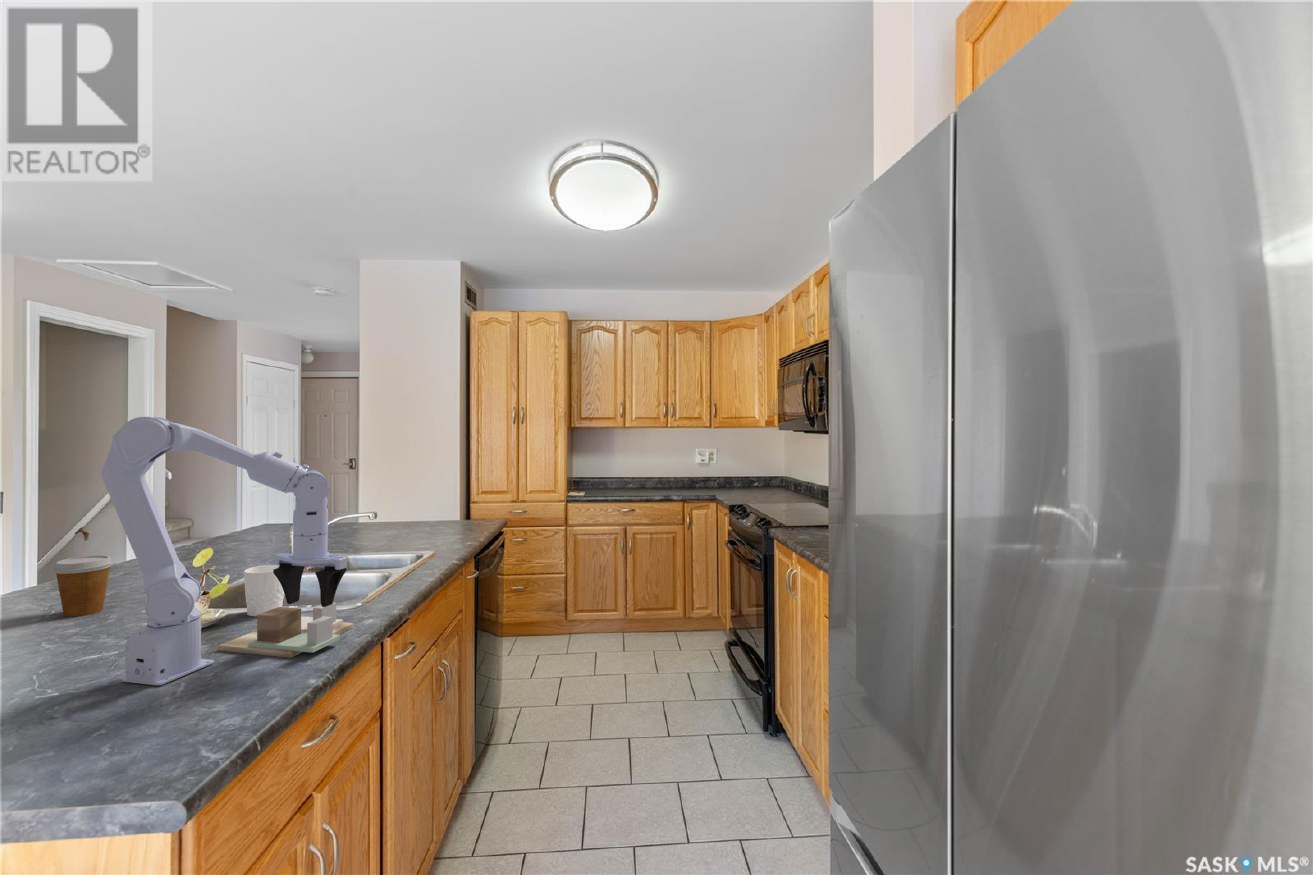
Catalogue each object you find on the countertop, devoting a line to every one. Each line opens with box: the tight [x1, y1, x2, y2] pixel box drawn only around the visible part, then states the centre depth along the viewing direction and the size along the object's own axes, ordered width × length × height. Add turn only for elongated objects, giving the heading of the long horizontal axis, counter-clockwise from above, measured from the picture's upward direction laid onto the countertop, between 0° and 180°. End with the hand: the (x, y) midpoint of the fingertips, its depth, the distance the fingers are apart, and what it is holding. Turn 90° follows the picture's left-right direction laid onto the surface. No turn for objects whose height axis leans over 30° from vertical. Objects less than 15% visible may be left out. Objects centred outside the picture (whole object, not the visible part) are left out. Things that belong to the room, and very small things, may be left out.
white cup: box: [243, 564, 285, 617], centre depth 129 cm, size 8×8×10 cm
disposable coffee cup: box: [52, 554, 114, 618], centre depth 127 cm, size 10×10×12 cm
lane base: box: [218, 622, 354, 658], centre depth 113 cm, size 16×16×1 cm
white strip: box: [301, 601, 344, 632], centre depth 117 cm, size 7×14×5 cm, turn 79°
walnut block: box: [256, 606, 302, 643], centre depth 109 cm, size 5×5×5 cm
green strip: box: [248, 616, 341, 653], centre depth 108 cm, size 7×14×5 cm, turn 79°
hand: (309, 604), depth 108 cm, fingers open, 7 cm apart
